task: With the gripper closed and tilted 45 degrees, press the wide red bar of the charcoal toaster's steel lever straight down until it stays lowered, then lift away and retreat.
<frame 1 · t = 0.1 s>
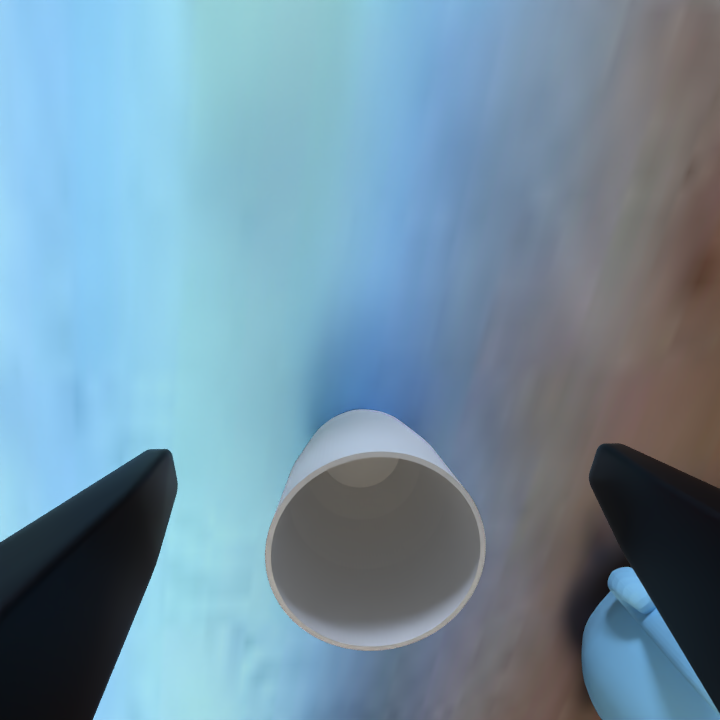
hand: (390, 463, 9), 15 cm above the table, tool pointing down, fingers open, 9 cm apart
decorative pot: (668, 619, 29), on the table
cup: (359, 447, 25), on the table
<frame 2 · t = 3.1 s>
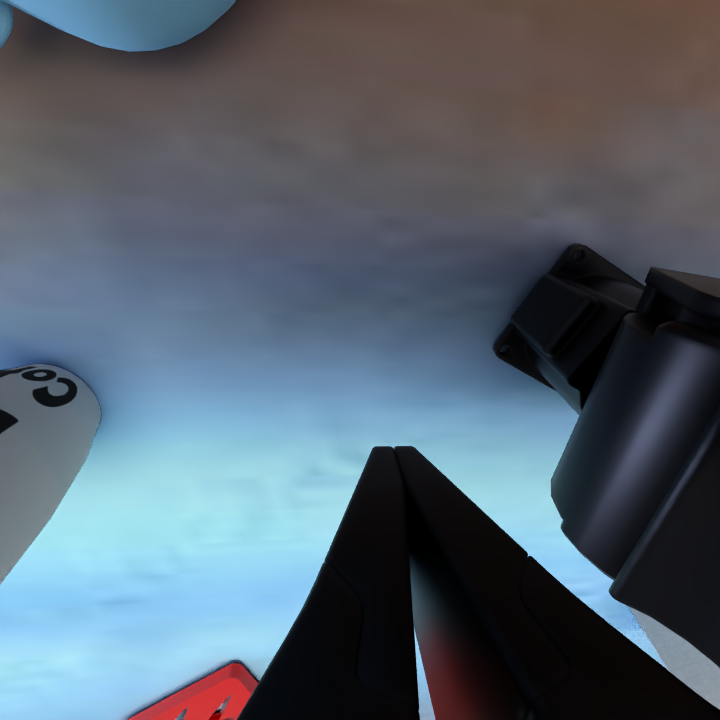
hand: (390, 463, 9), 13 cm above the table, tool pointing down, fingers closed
cup: (56, 403, 23), on the table
milk carton: (678, 596, 30), on the table
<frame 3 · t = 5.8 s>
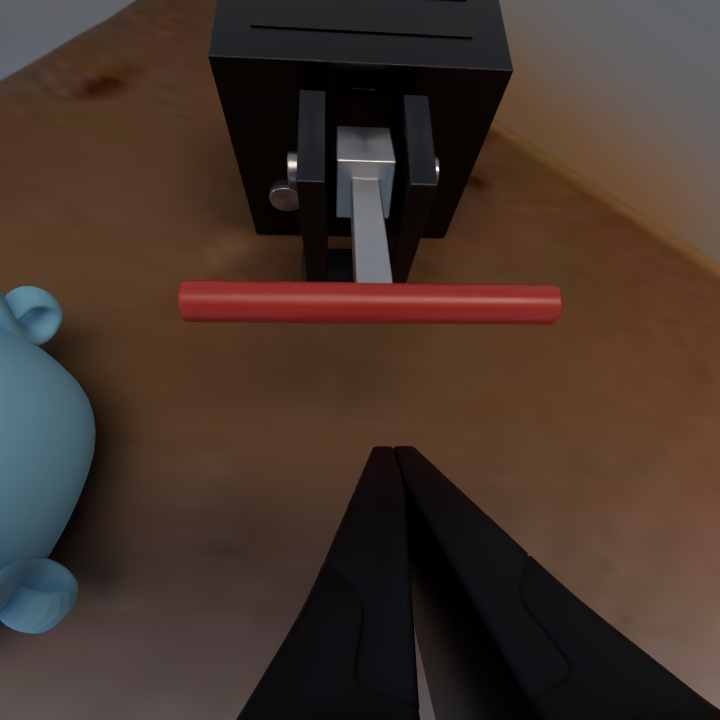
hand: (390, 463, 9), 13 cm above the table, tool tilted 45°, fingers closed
lever: (367, 221, 15), point 10 cm above the table, hinge at 18.0°
lever bracket: (352, 284, 25), on the table
toaster: (351, 192, 28), on the table
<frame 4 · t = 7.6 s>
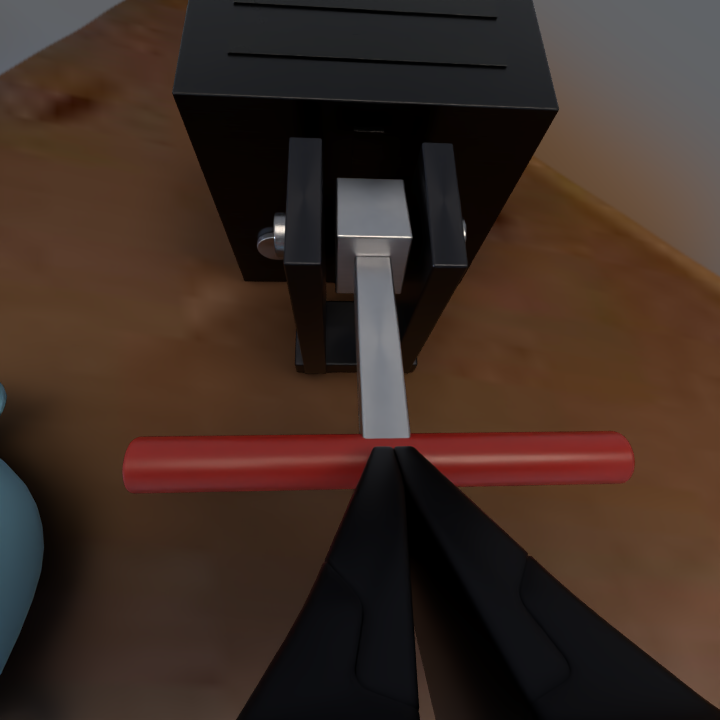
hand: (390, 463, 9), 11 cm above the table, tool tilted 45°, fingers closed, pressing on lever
lever: (375, 317, 12), point 10 cm above the table, hinge at 13.7°, touching gripper
lever bracket: (354, 341, 22), on the table
toaster: (352, 229, 24), on the table
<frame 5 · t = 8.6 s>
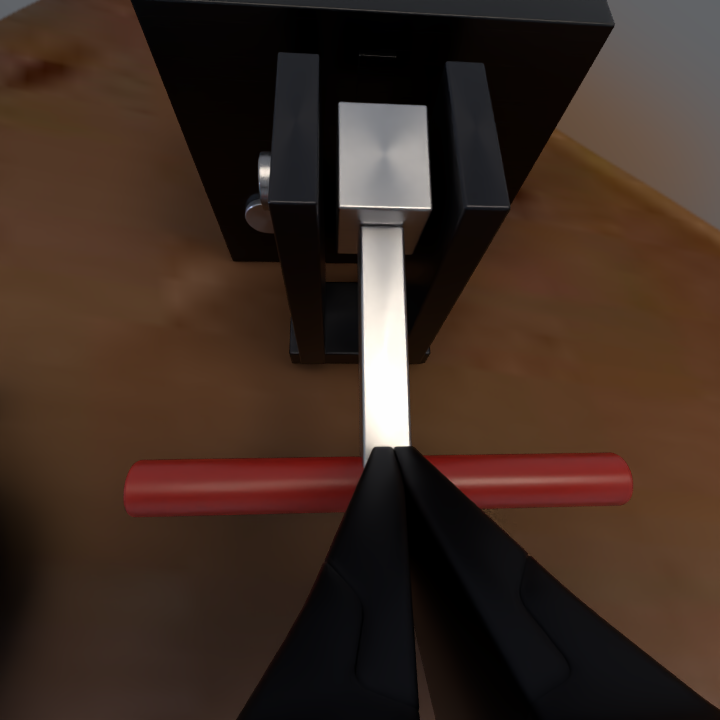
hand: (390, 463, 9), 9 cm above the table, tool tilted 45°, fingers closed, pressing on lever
lever: (381, 308, 10), point 8 cm above the table, hinge at -9.5°, touching gripper
lever bracket: (358, 328, 19), on the table
toaster: (355, 205, 22), on the table
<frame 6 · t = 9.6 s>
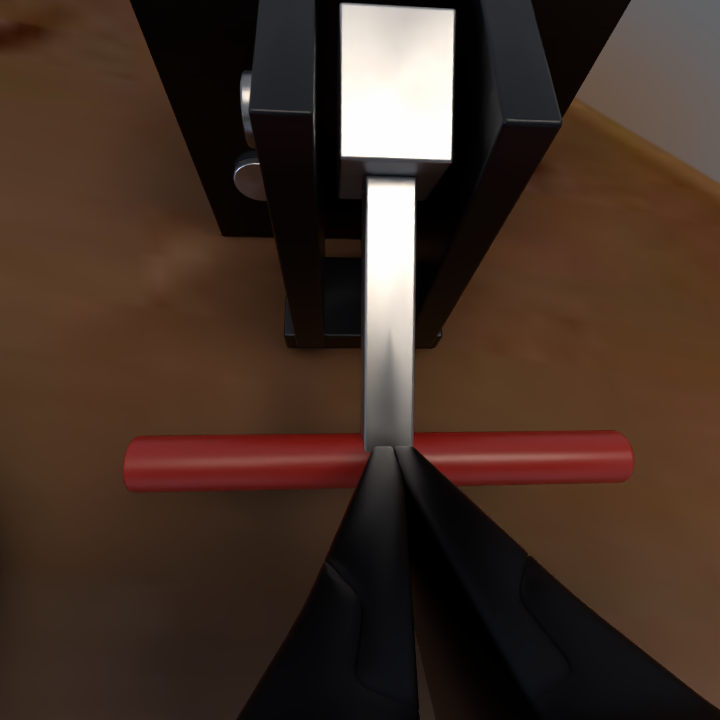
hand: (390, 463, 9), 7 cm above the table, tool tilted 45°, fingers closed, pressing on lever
lever: (387, 274, 9), point 8 cm above the table, hinge at -24.2°, touching gripper
lever bracket: (361, 309, 17), on the table
toaster: (357, 177, 20), on the table
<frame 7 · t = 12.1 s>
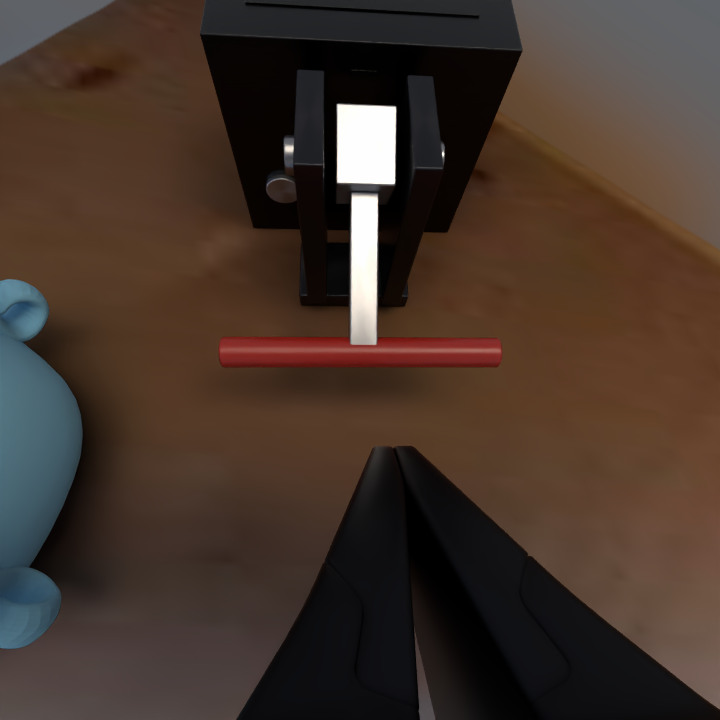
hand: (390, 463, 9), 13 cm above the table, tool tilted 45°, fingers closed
lever: (363, 246, 16), point 8 cm above the table, hinge at -24.3°
lever bracket: (352, 279, 24), on the table
toaster: (351, 185, 27), on the table
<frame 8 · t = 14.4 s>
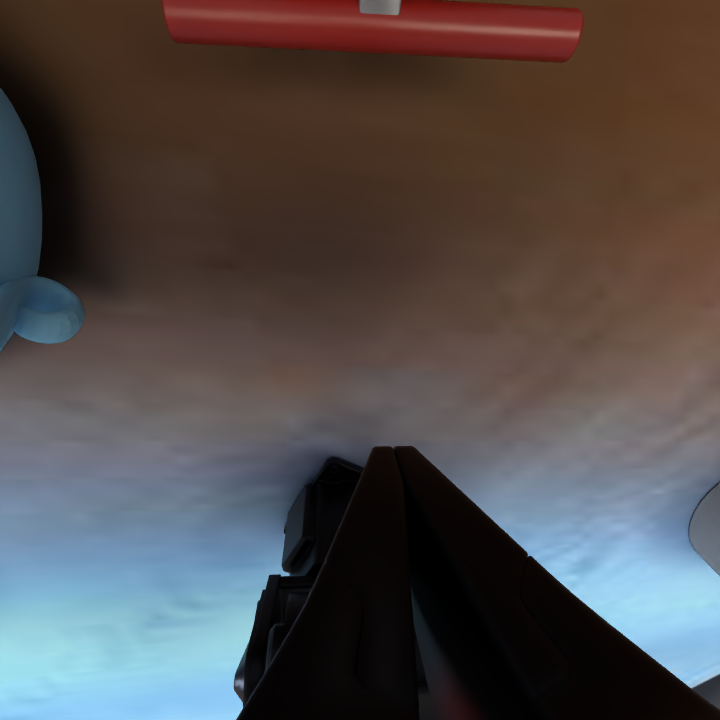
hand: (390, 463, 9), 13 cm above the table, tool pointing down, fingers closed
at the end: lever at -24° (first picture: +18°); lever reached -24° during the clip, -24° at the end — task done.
